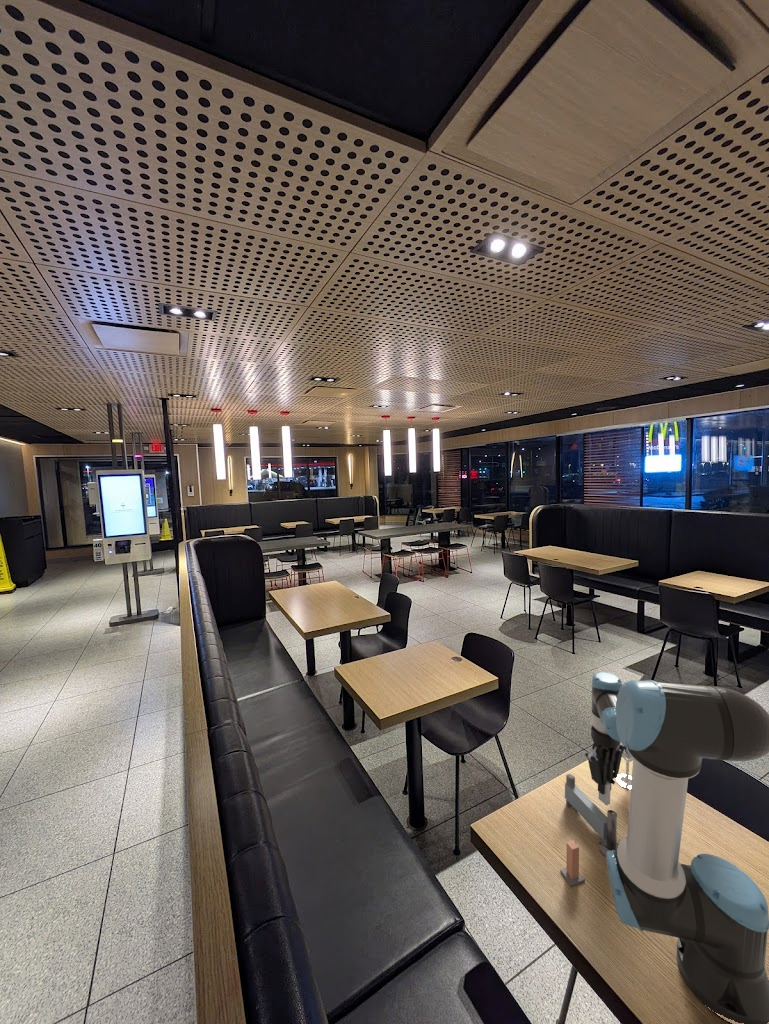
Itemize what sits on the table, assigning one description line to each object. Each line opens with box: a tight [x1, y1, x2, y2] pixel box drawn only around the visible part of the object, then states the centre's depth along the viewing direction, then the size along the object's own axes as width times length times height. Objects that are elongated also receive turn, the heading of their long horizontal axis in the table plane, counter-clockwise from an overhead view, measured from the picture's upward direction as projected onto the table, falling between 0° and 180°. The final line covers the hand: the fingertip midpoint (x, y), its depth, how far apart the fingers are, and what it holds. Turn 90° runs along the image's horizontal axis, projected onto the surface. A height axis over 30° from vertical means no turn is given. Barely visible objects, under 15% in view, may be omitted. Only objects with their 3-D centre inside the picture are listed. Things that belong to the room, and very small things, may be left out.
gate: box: [564, 773, 607, 840], centre depth 119 cm, size 15×2×9 cm, turn 16°
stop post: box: [559, 839, 586, 887], centre depth 104 cm, size 4×4×9 cm
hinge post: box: [598, 809, 620, 858], centre depth 111 cm, size 6×6×11 cm
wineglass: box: [615, 742, 633, 791], centre depth 133 cm, size 8×8×18 cm
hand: (604, 801), depth 122 cm, fingers closed
